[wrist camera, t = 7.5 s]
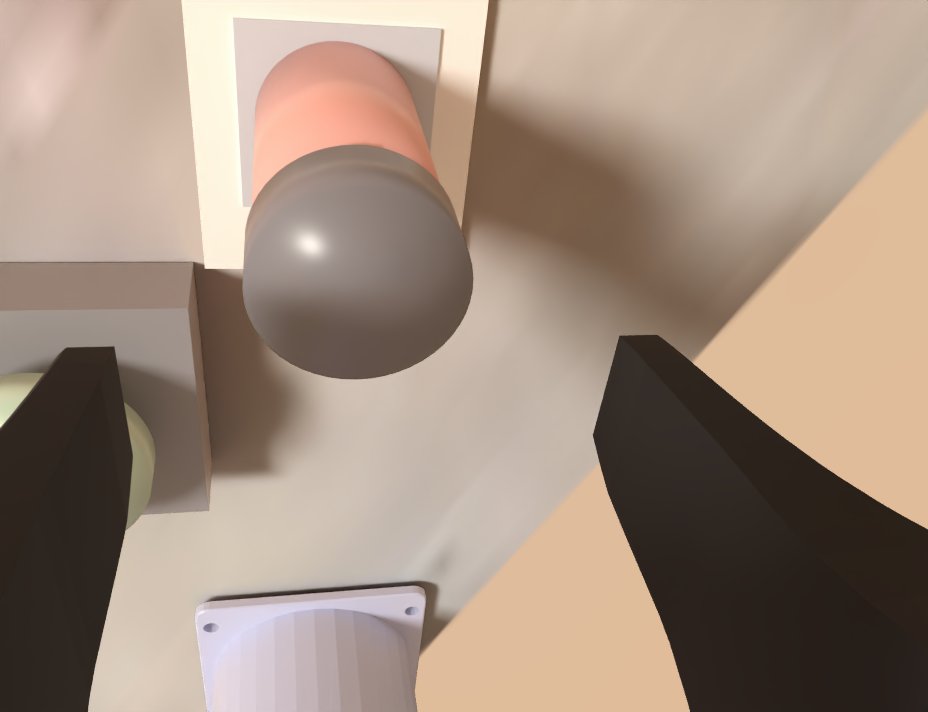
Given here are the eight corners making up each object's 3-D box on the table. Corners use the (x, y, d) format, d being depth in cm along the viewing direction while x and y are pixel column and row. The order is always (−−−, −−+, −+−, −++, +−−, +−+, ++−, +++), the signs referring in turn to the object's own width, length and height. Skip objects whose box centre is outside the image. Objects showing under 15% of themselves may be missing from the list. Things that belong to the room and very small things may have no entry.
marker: (412, 197, 22) (460, 377, 16) (253, 194, 21) (247, 381, 15) (425, 41, 19) (486, 188, 14) (247, 31, 18) (237, 182, 13)
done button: (170, 467, 25) (162, 545, 23) (-24, 476, 24) (-53, 559, 21) (150, 323, 22) (138, 398, 19) (-74, 326, 21) (-113, 406, 18)
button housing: (212, 460, 26) (208, 510, 25) (-44, 472, 25) (-64, 526, 23) (193, 262, 22) (187, 308, 21) (-117, 262, 21) (-148, 312, 19)
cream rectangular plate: (454, 261, 23) (457, 269, 23) (205, 261, 22) (204, 271, 22) (492, -61, 19) (496, -56, 18) (175, -84, 17) (174, -79, 17)
